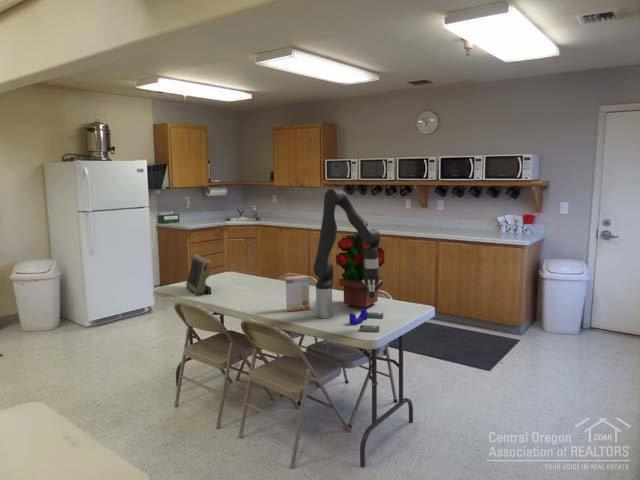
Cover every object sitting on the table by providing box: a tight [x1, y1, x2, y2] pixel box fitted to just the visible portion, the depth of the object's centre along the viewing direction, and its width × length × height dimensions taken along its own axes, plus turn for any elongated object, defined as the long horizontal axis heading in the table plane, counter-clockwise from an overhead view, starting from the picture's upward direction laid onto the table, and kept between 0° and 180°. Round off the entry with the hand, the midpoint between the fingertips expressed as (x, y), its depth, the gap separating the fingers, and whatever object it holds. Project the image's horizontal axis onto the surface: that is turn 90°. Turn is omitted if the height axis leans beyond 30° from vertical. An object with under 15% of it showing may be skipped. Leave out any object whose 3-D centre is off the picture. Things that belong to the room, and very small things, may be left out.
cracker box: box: [284, 275, 311, 313], centre depth 295 cm, size 14×6×21 cm, turn 100°
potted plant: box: [335, 232, 385, 310], centre depth 300 cm, size 22×22×45 cm
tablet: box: [185, 253, 212, 296], centre depth 348 cm, size 33×14×25 cm, turn 34°
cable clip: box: [348, 308, 368, 326], centre depth 270 cm, size 12×4×6 cm, turn 137°
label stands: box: [359, 311, 384, 333], centre depth 267 cm, size 10×28×2 cm, turn 168°
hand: (372, 298), depth 260 cm, fingers closed
